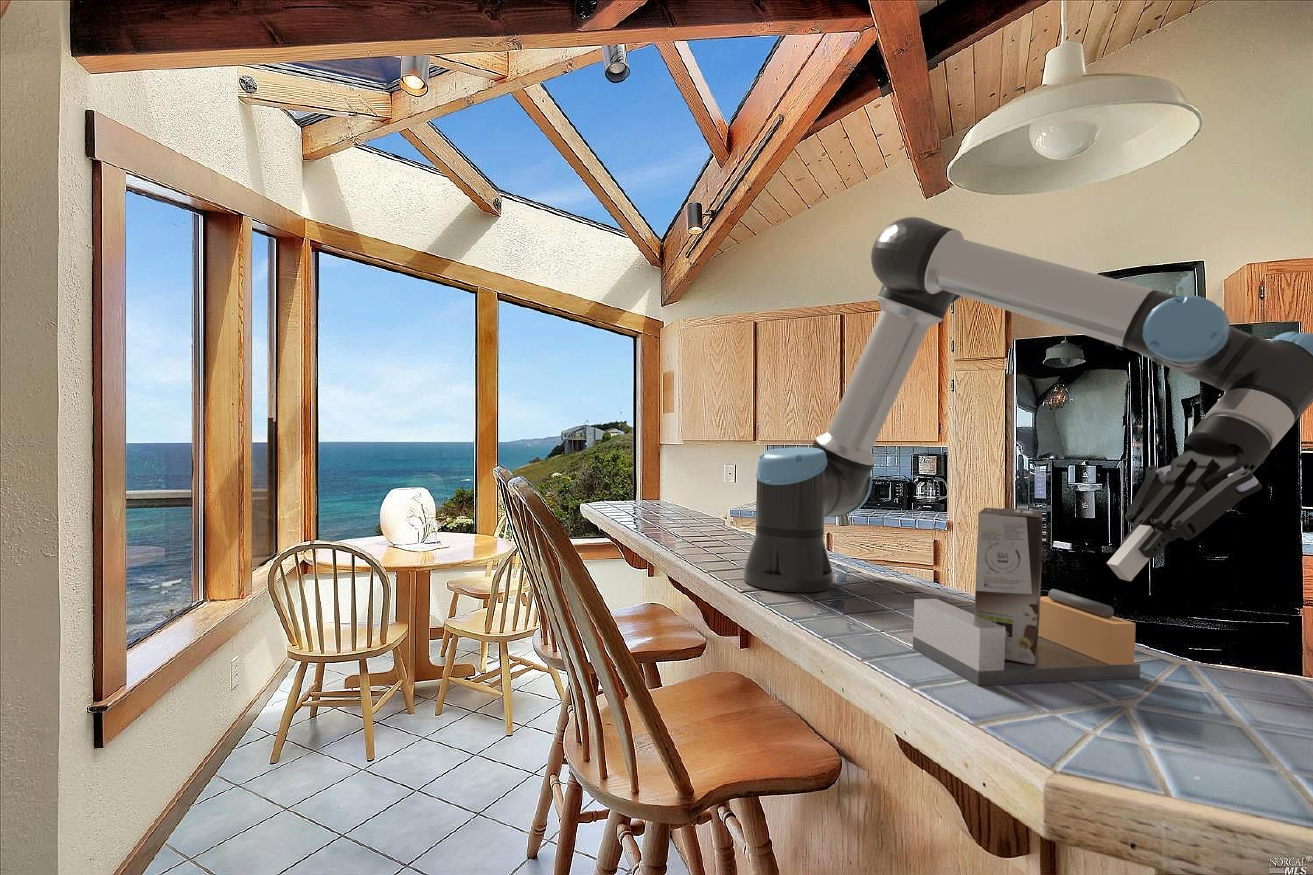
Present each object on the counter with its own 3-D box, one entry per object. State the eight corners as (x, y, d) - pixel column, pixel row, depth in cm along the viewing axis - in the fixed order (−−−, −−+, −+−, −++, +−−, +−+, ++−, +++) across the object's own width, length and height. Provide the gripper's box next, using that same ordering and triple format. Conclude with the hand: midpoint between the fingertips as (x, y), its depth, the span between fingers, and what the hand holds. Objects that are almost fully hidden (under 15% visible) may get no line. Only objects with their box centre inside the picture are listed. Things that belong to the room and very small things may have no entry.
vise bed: (912, 648, 81) (914, 599, 81) (1054, 643, 84) (1056, 596, 84) (978, 685, 69) (980, 628, 69) (1139, 678, 73) (1141, 623, 73)
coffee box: (1037, 666, 71) (1042, 516, 71) (971, 654, 74) (976, 511, 74) (1039, 644, 79) (1044, 509, 79) (979, 634, 82) (984, 505, 82)
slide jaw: (1029, 632, 84) (1030, 585, 84) (1049, 631, 84) (1051, 584, 84) (1110, 665, 72) (1112, 610, 72) (1134, 664, 72) (1136, 610, 72)
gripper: (1314, 458, 76) (1190, 607, 72) (1201, 455, 88) (1091, 582, 85) (1277, 410, 75) (1150, 560, 71) (1168, 414, 87) (1056, 541, 84)
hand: (1118, 572), depth 78 cm, fingers closed
